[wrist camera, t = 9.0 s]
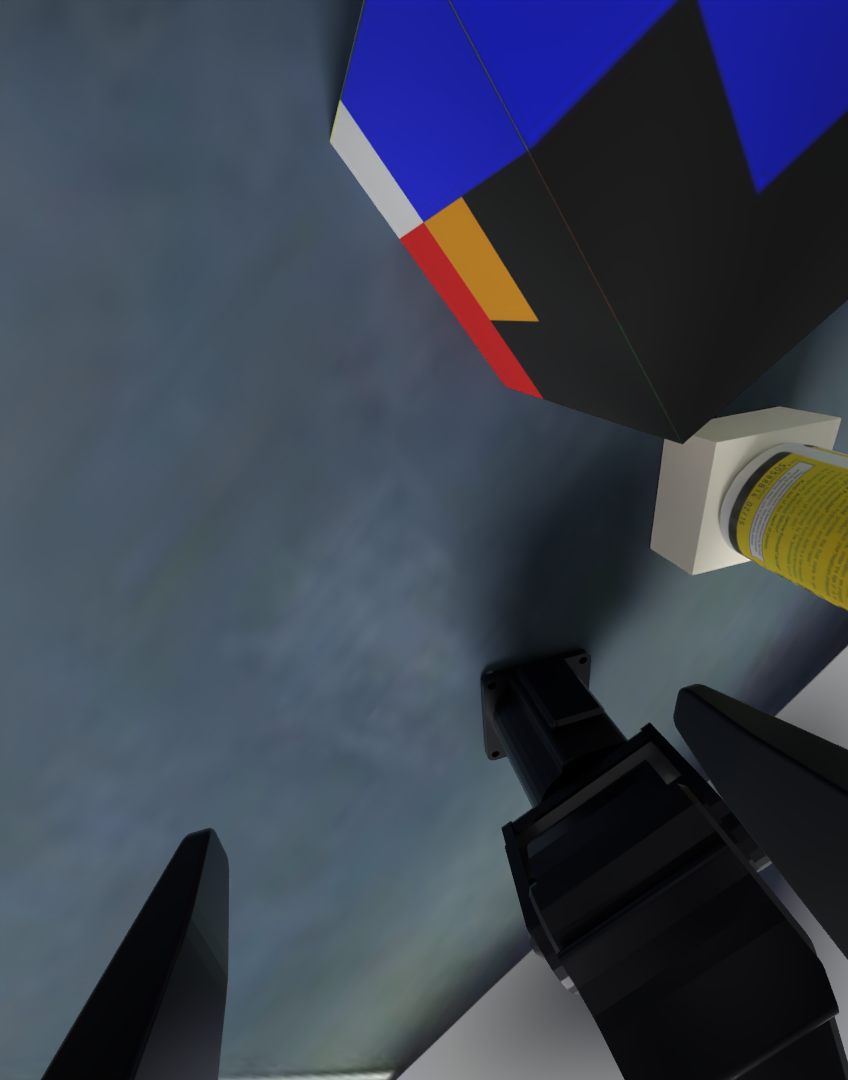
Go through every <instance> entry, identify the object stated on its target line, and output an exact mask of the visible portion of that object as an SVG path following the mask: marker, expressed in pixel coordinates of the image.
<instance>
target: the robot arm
mask: <svg viewBox="0 0 848 1080" xmlns="http://www.w3.org/2000/svg"><path fill="white" fill-rule="evenodd" d="M590 665H591V656H590V655H589V653H588V652H587V651H586V650H584V649H579V650H575V651H571V652H568V653H564V654H560V655H557V656H553V657H549V658H546V659H542V660H538V661H535V662H531V663H528V664H524V665H520V666H517V667H513V668H509V669H506V670H502V671H498V672H495V673H491V674H488V675H486V676H485V677H483V679H482V680H481V692H482V707H483V723H484V738H485V752H486V754H487V756H488V759H490V760H497V759H500V758H503V757H508V759H509V761H510V763H511V765H512V767H513V769H514V771H515V773H516V775H517V777H518V779H519V781H520V783H521V785H522V787H523V789H524V791H525V793H526V795H527V797H528V799H529V801H530V803H531V805H532V807H533V808H532V809H531V810H529V811H528V812H526V813H525V814H523V815H522V816H521V817H519V818H518V819H516V820H515V821H514V822H512V821H510V822H509V823H507V824H506V825H504V826H503V827H502V832H503V836H504V840H505V843H506V845H505V849H506V853H507V857H508V860H509V864H510V868H511V872H512V875H513V879H514V883H515V886H516V890H517V894H518V897H519V901H520V905H521V909H522V912H523V916H524V920H525V923H526V927H527V929H528V933H529V940H530V944H531V946H532V948H533V950H534V952H535V953H536V954H537V955H538V956H540V957H542V958H544V959H546V960H547V962H548V964H549V965H550V967H551V969H552V970H553V972H554V973H555V975H556V976H557V977H558V979H559V980H560V982H561V983H562V984H563V985H564V986H565V987H566V988H567V990H569V991H570V992H571V993H573V994H579V993H580V995H581V997H582V998H583V1000H584V1002H585V1003H586V1005H587V1007H588V1009H589V1010H590V1012H591V1014H592V1016H593V1017H594V1019H595V1021H596V1023H597V1025H598V1027H599V1029H600V1031H601V1033H602V1035H603V1037H604V1039H605V1041H606V1043H607V1045H608V1047H609V1049H610V1051H611V1053H612V1055H613V1057H614V1059H615V1061H616V1063H617V1065H618V1067H619V1069H620V1071H621V1073H622V1075H623V1077H624V1079H625V1080H848V1061H847V1058H846V1054H845V1051H844V1047H843V1044H842V1041H841V1037H840V1034H839V1030H838V1027H837V1023H836V1020H835V1015H837V1014H838V1013H839V1009H838V1005H837V1002H836V999H835V996H834V994H833V991H832V989H831V985H830V982H829V980H828V977H827V974H826V971H825V969H824V967H823V964H822V963H821V961H820V960H819V958H818V957H817V955H816V951H815V948H814V946H813V943H812V941H811V940H810V938H809V937H808V935H807V934H806V932H805V931H804V930H803V928H802V927H801V926H800V925H799V924H798V922H797V921H796V920H795V919H794V917H793V916H792V915H791V914H790V912H789V911H788V910H787V909H786V907H785V906H784V905H783V904H782V903H781V901H780V900H779V899H778V897H777V896H776V895H775V894H774V892H773V891H772V890H771V889H770V888H769V886H768V885H767V884H766V883H765V882H764V880H763V879H762V878H761V876H760V875H759V874H758V873H757V872H758V871H761V870H763V869H764V868H766V867H767V866H769V865H770V864H771V863H773V864H774V866H775V867H776V868H777V870H778V871H779V872H780V874H781V875H782V876H783V877H784V879H785V880H786V881H787V882H788V884H789V885H790V886H791V888H792V889H793V890H794V891H795V893H796V894H797V895H798V897H799V898H800V899H801V900H802V902H803V903H804V904H805V906H806V907H807V908H808V909H809V911H810V912H811V913H812V914H813V916H814V917H815V918H816V920H817V921H818V922H819V923H820V925H821V926H822V927H823V929H824V930H825V931H826V932H827V934H828V935H829V936H830V938H831V939H832V940H833V941H834V943H835V944H836V945H837V947H838V948H839V949H840V950H841V951H842V953H843V954H844V955H845V957H846V958H847V959H848V750H847V749H845V748H843V747H841V746H839V745H836V744H834V743H831V742H830V741H827V740H825V739H823V738H821V737H819V736H816V735H814V734H812V733H810V732H807V731H805V730H803V729H801V728H798V727H796V726H794V725H792V724H790V723H787V722H785V721H783V720H781V719H778V718H776V717H774V716H772V715H770V714H767V713H765V712H763V711H761V710H758V709H756V708H754V707H752V706H750V705H747V704H745V703H743V702H741V701H738V700H736V699H734V698H732V697H730V696H727V695H725V694H723V693H721V692H718V691H716V690H714V689H712V688H710V687H707V686H705V685H702V684H694V685H691V686H687V687H684V688H682V689H680V690H679V693H678V697H677V701H676V706H675V711H674V723H675V726H676V728H677V730H678V731H679V733H680V734H681V736H682V738H683V739H684V741H685V742H686V744H687V745H688V747H689V748H690V750H691V751H692V753H693V754H694V756H695V758H696V759H697V761H698V762H699V764H700V765H701V767H702V768H703V770H704V771H705V773H706V774H707V776H708V777H709V779H710V781H711V782H712V783H713V785H714V787H715V788H716V790H717V791H718V793H719V794H720V796H721V797H722V798H723V800H724V801H725V802H724V801H723V800H722V798H721V797H720V796H719V795H718V794H717V793H716V792H715V791H714V790H713V788H712V787H711V786H710V785H709V784H708V783H707V782H706V781H705V780H704V779H703V778H702V777H701V776H700V775H699V774H698V772H697V771H696V770H695V769H694V768H693V767H692V766H691V765H690V764H689V763H688V762H687V761H686V760H685V759H684V758H683V757H682V756H681V755H680V754H679V753H678V752H677V750H676V749H675V748H674V747H673V746H672V745H671V744H670V743H669V742H668V741H667V740H666V739H665V738H664V737H663V736H662V735H661V734H660V733H659V732H658V731H657V730H656V729H655V727H654V726H653V725H652V724H651V723H650V722H649V723H648V724H646V725H645V726H644V727H642V728H641V731H640V732H639V733H638V734H636V735H635V736H633V737H632V738H631V739H629V740H627V738H626V737H625V736H624V735H623V733H622V732H621V731H620V730H619V728H618V727H617V726H616V725H615V723H614V722H613V721H612V720H611V718H610V717H609V716H608V715H607V713H606V712H605V711H604V708H603V707H602V705H601V704H600V703H599V702H598V700H597V699H596V698H595V697H594V695H593V694H592V693H591V692H590V690H589V678H590ZM490 683H491V684H490ZM228 929H229V864H228V858H227V855H226V853H225V851H224V849H223V846H222V844H221V842H220V840H219V838H218V836H217V834H216V832H215V831H214V830H213V829H212V828H207V829H204V830H200V831H197V832H193V833H190V834H188V835H187V836H186V837H185V838H184V839H183V840H182V842H181V843H180V845H179V847H178V848H177V850H176V852H175V854H174V855H173V857H172V859H171V860H170V862H169V864H168V865H167V867H166V869H165V870H164V872H163V874H162V875H161V877H160V879H159V881H158V882H157V884H156V886H155V887H154V889H153V891H152V892H151V894H150V896H149V897H148V899H147V901H146V902H145V904H144V906H143V908H142V909H141V911H140V913H139V914H138V916H137V918H136V919H135V921H134V923H133V924H132V926H131V928H130V930H129V931H128V933H127V935H126V936H125V938H124V940H123V941H122V943H121V945H120V946H119V948H118V950H117V951H116V953H115V955H114V957H113V958H112V960H111V962H110V963H109V965H108V967H107V968H106V970H105V972H104V973H103V975H102V977H101V978H100V980H99V982H98V984H97V985H96V987H95V989H94V990H93V992H92V994H91V995H90V997H89V999H88V1000H87V1002H86V1004H85V1005H84V1007H83V1009H82V1011H81V1012H80V1014H79V1016H78V1017H77V1019H76V1021H75V1022H74V1024H73V1026H72V1027H71V1029H70V1031H69V1033H68V1034H67V1036H66V1038H65V1039H64V1041H63V1043H62V1044H61V1046H60V1048H59V1049H58V1051H57V1053H56V1054H55V1056H54V1058H53V1060H52V1061H51V1063H50V1065H49V1066H48V1068H47V1070H46V1071H45V1073H44V1075H43V1076H42V1078H41V1080H218V1073H219V1063H220V1053H221V1044H222V1034H223V1024H224V1015H225V1005H226V995H227V982H228Z"/></svg>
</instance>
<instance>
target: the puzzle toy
mask: <svg viewBox="0 0 848 1080" xmlns="http://www.w3.org/2000/svg"><path fill="white" fill-rule="evenodd" d="M330 143H331V144H332V145H333V147H334V148H335V150H336V151H337V152H338V154H339V155H340V157H341V158H342V159H343V161H344V162H345V163H346V165H347V166H348V168H349V169H350V170H351V172H352V173H353V175H354V176H355V177H356V179H357V180H358V182H359V183H360V184H361V186H362V187H363V189H364V190H365V191H366V193H367V194H368V195H369V197H370V198H371V200H372V201H373V202H374V204H375V205H376V207H377V208H378V209H379V211H380V212H381V214H382V215H383V216H384V218H385V219H386V221H387V222H388V223H389V225H390V226H391V227H392V229H393V230H394V232H395V233H396V234H397V236H398V237H399V239H400V240H401V241H402V243H403V244H404V246H405V247H406V248H407V250H408V251H409V253H410V254H411V255H412V257H413V258H414V260H415V261H416V262H417V264H418V265H419V266H420V268H421V269H422V271H423V272H424V273H425V275H426V276H427V278H428V279H429V280H430V282H431V283H432V285H433V286H434V287H435V289H436V290H437V292H438V293H439V294H440V296H441V297H442V298H443V300H444V301H445V303H446V304H447V305H448V307H449V308H450V310H451V311H452V312H453V314H454V315H455V317H456V318H457V319H458V321H459V322H460V324H461V325H462V326H463V328H464V329H465V330H466V332H467V333H468V335H469V336H470V337H471V339H472V340H473V342H474V343H475V344H476V346H477V347H478V349H479V350H480V351H481V353H482V354H483V356H484V357H485V358H486V360H487V361H488V362H489V364H490V365H491V367H492V368H493V369H494V371H495V372H496V374H497V375H498V376H499V378H500V379H501V381H502V382H503V383H504V385H505V386H506V387H508V388H511V389H514V390H517V391H520V392H523V393H526V394H529V395H532V396H535V397H539V398H542V399H545V400H548V401H551V402H554V403H557V404H560V405H563V406H566V407H569V408H572V409H575V410H578V411H581V412H584V413H588V414H591V415H594V416H597V417H600V418H603V419H606V420H609V421H612V422H615V423H618V424H621V425H624V426H627V427H630V428H633V429H637V430H640V431H643V432H646V433H649V434H652V435H655V436H658V437H661V438H664V439H667V440H670V441H673V442H676V443H679V444H682V445H683V444H684V443H685V442H686V441H687V440H688V439H689V438H691V437H692V436H693V435H694V434H695V433H696V432H697V431H698V430H700V429H701V428H702V427H703V426H704V425H705V424H706V423H708V422H709V421H710V420H711V419H712V418H713V417H714V416H716V415H717V414H718V413H719V412H720V411H721V410H722V409H724V408H725V407H726V406H727V405H728V404H729V403H730V402H732V401H733V400H734V399H735V398H736V397H737V396H738V395H739V394H741V393H742V392H743V391H744V390H745V389H746V388H747V387H749V386H750V385H751V384H752V383H753V382H754V381H755V380H757V379H758V378H759V377H760V376H761V375H762V374H763V373H765V372H766V371H767V370H768V369H769V368H770V367H771V366H772V365H774V364H775V363H776V362H777V361H778V360H779V359H780V358H782V357H783V356H784V355H785V354H786V353H787V352H788V351H790V350H791V349H792V348H793V347H794V346H795V345H796V344H798V343H799V342H800V341H801V340H802V339H803V338H804V337H805V336H807V335H808V334H809V333H810V332H811V331H812V330H813V329H815V328H816V327H817V326H818V325H819V324H820V323H821V322H823V321H824V320H825V319H826V318H827V317H828V316H829V315H831V314H832V313H833V312H834V311H835V310H836V309H837V308H838V307H840V306H841V305H842V304H843V303H844V302H845V301H846V300H848V0H364V1H363V5H362V9H361V13H360V18H359V22H358V26H357V30H356V34H355V38H354V42H353V47H352V51H351V55H350V59H349V63H348V67H347V71H346V76H345V80H344V84H343V88H342V92H341V96H340V101H339V105H338V109H337V113H336V117H335V121H334V125H333V130H332V134H331V138H330Z"/></svg>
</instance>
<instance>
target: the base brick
mask: <svg viewBox="0 0 848 1080" xmlns="http://www.w3.org/2000/svg"><path fill="white" fill-rule="evenodd" d="M841 419H842V418H839V417H834V416H829V415H823V414H818V413H812V412H807V411H802V410H796V409H791V408H786V407H780V406H779V407H774V408H768V409H763V410H757V411H752V412H747V413H741V414H736V415H731V416H725V417H720V418H714V419H711V420H710V421H709V422H708V423H706V424H705V425H704V426H703V427H702V428H701V429H700V430H698V431H697V432H696V433H695V434H694V435H693V436H692V437H691V438H689V439H688V440H687V441H686V442H685V443H684V444H683V445H682V444H679V443H676V442H673V441H670V440H667V439H664V446H663V453H662V461H661V468H660V476H659V484H658V491H657V499H656V506H655V514H654V522H653V529H652V537H651V544H650V549H652V550H653V551H655V552H656V553H658V554H660V555H661V556H663V557H664V558H666V559H667V560H669V561H670V562H672V563H674V564H675V565H677V566H678V567H680V568H681V569H683V570H684V571H686V572H687V573H689V574H691V575H696V574H700V573H704V572H708V571H712V570H716V569H720V568H724V567H727V566H731V565H735V564H739V563H743V562H747V561H751V560H750V559H748V558H746V557H744V556H742V555H741V554H739V553H737V552H736V551H734V550H733V549H731V548H730V547H729V546H728V545H727V544H726V542H725V541H724V539H723V536H722V534H721V529H720V513H721V508H722V504H723V501H724V499H725V496H726V494H727V492H728V490H729V488H730V486H731V484H732V483H733V481H734V480H735V478H736V477H737V475H738V474H739V473H740V472H741V471H742V470H743V469H744V468H745V467H746V466H747V465H748V464H749V463H750V462H751V461H752V460H753V459H755V458H756V457H757V456H759V455H760V454H762V453H764V452H765V451H767V450H769V449H771V448H773V447H776V446H778V445H782V444H786V443H803V444H808V445H813V446H817V447H820V448H825V449H829V450H832V449H833V445H834V442H835V439H836V435H837V432H838V429H839V425H840V422H841Z"/></svg>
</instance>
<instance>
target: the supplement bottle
mask: <svg viewBox="0 0 848 1080" xmlns="http://www.w3.org/2000/svg"><path fill="white" fill-rule="evenodd" d="M720 529H721V534H722V536H723V539H724V541H725V542H726V544H727V545H728V546H729V547H730V548H731V549H733V550H734V551H736V552H737V553H739V554H741V555H742V556H744V557H746V558H748V559H750V560H752V561H753V562H755V563H757V564H759V565H761V566H763V567H765V568H767V569H769V570H770V571H772V572H774V573H776V574H778V575H780V576H782V577H783V578H786V579H788V580H789V581H791V582H793V583H795V584H797V585H799V586H800V587H802V588H804V589H806V590H808V591H810V592H812V593H814V594H816V595H818V596H820V597H821V598H823V599H825V600H827V601H829V602H831V603H833V604H835V605H837V606H838V607H840V608H842V609H844V610H846V611H848V454H844V453H840V452H837V451H833V450H829V449H825V448H820V447H817V446H813V445H808V444H803V443H786V444H782V445H778V446H776V447H773V448H771V449H769V450H767V451H765V452H764V453H762V454H760V455H759V456H757V457H756V458H755V459H753V460H752V461H751V462H750V463H749V464H748V465H747V466H746V467H745V468H744V469H743V470H742V471H741V472H740V473H739V474H738V475H737V477H736V478H735V480H734V481H733V483H732V484H731V486H730V488H729V490H728V492H727V494H726V496H725V499H724V501H723V504H722V508H721V513H720Z"/></svg>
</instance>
